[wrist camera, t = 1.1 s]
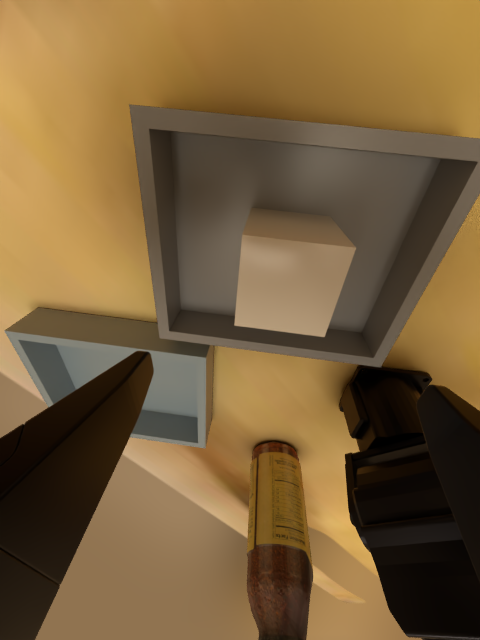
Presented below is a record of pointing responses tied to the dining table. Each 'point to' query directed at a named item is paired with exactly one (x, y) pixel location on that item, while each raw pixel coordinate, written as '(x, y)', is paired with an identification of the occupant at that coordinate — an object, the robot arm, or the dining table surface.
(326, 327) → the stone block
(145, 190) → the bin
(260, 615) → the sauce bottle
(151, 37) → the dining table surface
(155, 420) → the bin
